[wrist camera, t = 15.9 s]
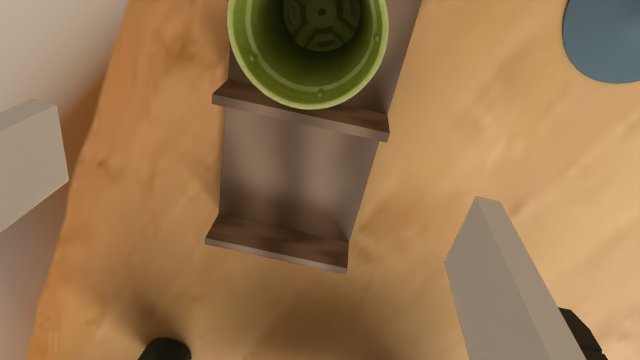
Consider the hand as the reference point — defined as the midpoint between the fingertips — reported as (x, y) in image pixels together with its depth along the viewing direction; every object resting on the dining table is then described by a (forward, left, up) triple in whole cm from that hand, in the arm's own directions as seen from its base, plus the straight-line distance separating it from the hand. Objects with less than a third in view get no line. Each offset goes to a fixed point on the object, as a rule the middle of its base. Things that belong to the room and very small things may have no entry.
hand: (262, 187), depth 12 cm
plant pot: (+1, -2, -22) cm, 22 cm away
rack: (+1, +5, -23) cm, 24 cm away
